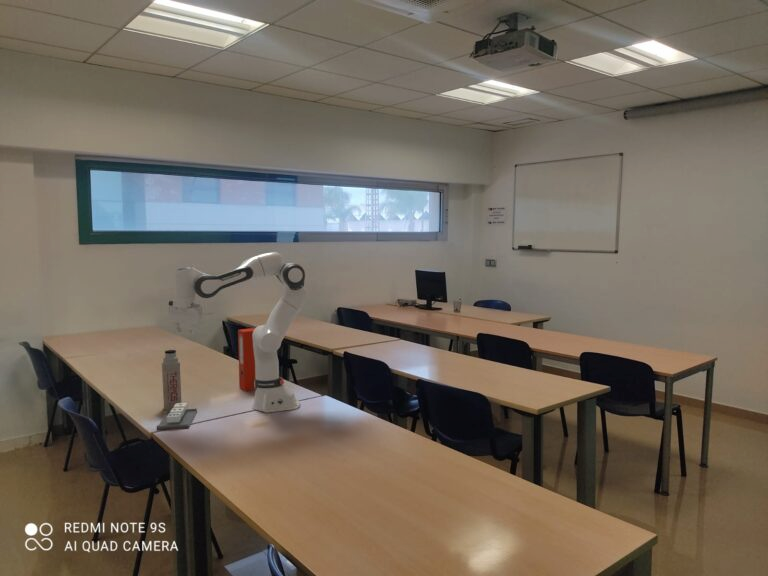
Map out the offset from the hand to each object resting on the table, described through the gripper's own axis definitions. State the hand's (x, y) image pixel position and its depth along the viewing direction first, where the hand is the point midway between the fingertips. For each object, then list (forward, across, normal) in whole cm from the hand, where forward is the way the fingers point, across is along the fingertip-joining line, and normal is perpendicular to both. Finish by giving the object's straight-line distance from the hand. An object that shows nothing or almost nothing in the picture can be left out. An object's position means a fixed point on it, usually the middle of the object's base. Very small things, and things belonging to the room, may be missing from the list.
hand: (185, 332), depth 242 cm
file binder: (+38, +4, -50) cm, 63 cm away
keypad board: (+39, -2, +7) cm, 39 cm away
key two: (+36, -2, +7) cm, 37 cm away
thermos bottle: (+39, +15, -4) cm, 42 cm away
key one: (+36, +2, +2) cm, 36 cm away
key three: (+36, -7, +12) cm, 39 cm away
